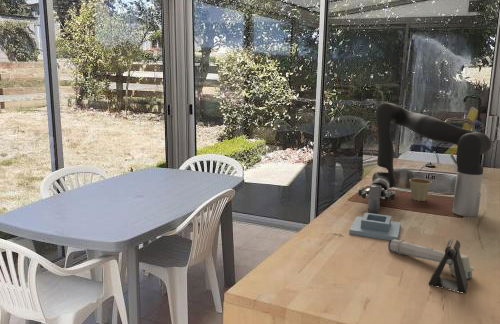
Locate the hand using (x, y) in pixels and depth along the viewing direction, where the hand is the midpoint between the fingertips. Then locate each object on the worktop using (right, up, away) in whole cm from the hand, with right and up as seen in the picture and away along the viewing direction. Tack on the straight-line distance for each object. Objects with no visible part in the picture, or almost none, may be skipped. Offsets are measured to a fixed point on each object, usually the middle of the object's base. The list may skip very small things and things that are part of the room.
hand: (374, 197), depth 171 cm
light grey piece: (+3, -16, -43) cm, 46 cm away
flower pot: (+26, -3, +23) cm, 35 cm away
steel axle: (-1, -7, 0) cm, 7 cm away
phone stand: (+3, -19, -56) cm, 59 cm away
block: (-5, -10, -17) cm, 20 cm away
